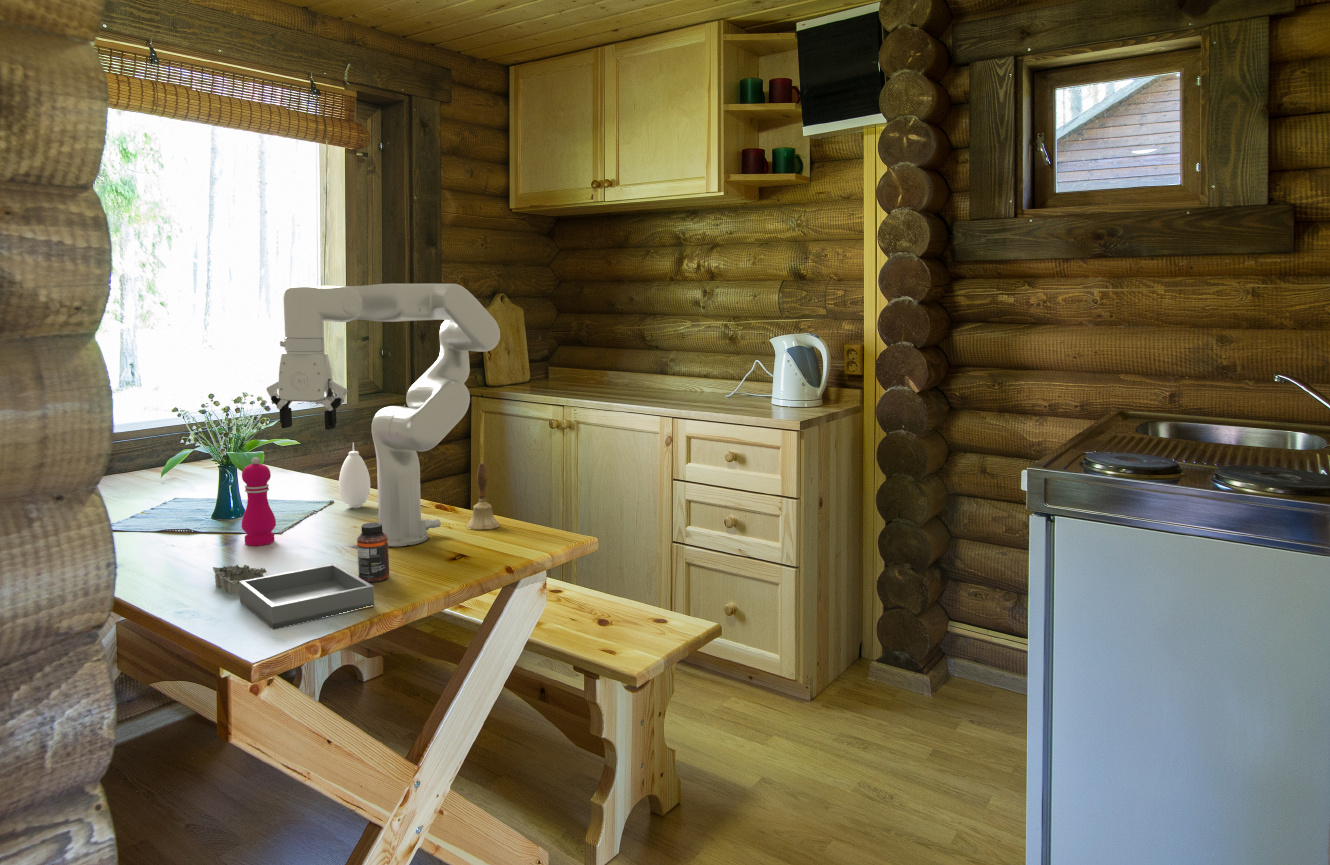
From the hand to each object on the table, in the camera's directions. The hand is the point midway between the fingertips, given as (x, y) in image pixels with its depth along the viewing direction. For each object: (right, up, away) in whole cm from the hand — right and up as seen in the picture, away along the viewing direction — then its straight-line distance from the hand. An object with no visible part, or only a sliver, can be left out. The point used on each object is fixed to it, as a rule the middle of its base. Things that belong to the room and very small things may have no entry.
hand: (308, 428), depth 188 cm
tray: (+9, -33, -23) cm, 41 cm away
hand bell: (+29, -25, +36) cm, 53 cm away
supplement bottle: (+16, -31, -7) cm, 35 cm away
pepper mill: (-19, -27, +18) cm, 37 cm away
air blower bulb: (-9, -21, +53) cm, 58 cm away
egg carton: (-8, -32, -13) cm, 35 cm away
